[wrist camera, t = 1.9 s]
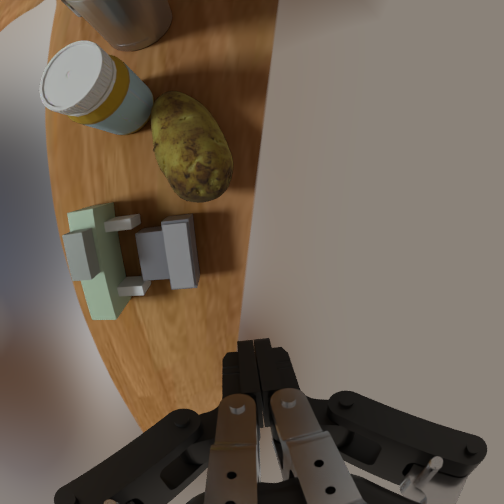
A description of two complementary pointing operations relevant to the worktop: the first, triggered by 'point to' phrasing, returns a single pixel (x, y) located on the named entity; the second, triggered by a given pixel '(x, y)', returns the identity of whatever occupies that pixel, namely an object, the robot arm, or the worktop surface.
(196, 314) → the worktop surface
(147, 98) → the bottle
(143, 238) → the grey stepped block
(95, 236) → the green block cluster
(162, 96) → the potato
